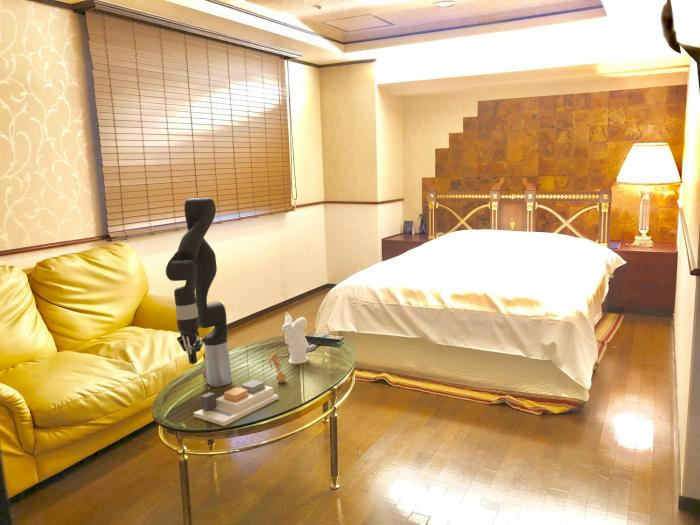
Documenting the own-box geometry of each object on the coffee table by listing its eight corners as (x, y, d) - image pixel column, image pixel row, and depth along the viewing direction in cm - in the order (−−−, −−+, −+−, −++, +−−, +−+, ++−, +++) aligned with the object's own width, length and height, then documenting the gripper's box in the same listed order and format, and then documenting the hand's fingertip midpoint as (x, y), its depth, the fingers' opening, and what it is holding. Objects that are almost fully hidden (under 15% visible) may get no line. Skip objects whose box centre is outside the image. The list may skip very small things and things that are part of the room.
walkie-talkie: (302, 357, 260) (324, 344, 278) (301, 348, 260) (323, 335, 277) (286, 355, 264) (308, 343, 282) (285, 346, 264) (307, 334, 281)
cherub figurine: (314, 361, 253) (310, 312, 250) (292, 369, 245) (288, 319, 241) (296, 355, 262) (292, 309, 258) (274, 363, 253) (270, 315, 249)
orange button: (224, 401, 206) (223, 392, 206) (237, 395, 211) (236, 387, 210) (235, 404, 203) (234, 395, 202) (248, 398, 207) (247, 389, 207)
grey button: (242, 392, 213) (241, 384, 212) (254, 387, 217) (253, 379, 217) (253, 395, 209) (252, 387, 209) (265, 390, 214) (264, 382, 213)
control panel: (194, 416, 202) (192, 405, 201) (248, 391, 222) (247, 381, 222) (224, 426, 192) (222, 414, 192) (278, 398, 212) (277, 388, 212)
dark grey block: (202, 409, 203) (200, 395, 203) (211, 405, 206) (209, 392, 206) (207, 410, 201) (206, 397, 201) (216, 406, 205) (215, 393, 204)
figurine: (280, 386, 225) (277, 357, 223) (267, 385, 228) (264, 356, 226) (291, 379, 232) (288, 350, 230) (279, 377, 235) (276, 349, 233)
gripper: (207, 315, 202) (213, 362, 204) (184, 312, 210) (190, 357, 212) (190, 320, 196) (196, 369, 199) (167, 317, 204) (173, 363, 207)
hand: (193, 363), depth 205 cm, fingers closed
